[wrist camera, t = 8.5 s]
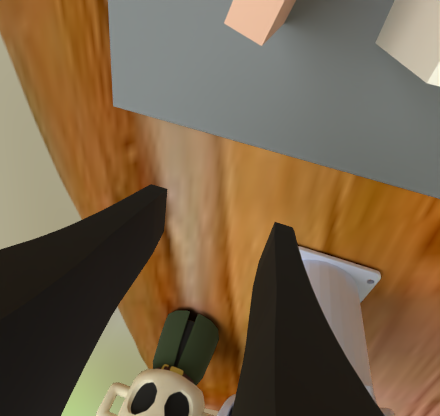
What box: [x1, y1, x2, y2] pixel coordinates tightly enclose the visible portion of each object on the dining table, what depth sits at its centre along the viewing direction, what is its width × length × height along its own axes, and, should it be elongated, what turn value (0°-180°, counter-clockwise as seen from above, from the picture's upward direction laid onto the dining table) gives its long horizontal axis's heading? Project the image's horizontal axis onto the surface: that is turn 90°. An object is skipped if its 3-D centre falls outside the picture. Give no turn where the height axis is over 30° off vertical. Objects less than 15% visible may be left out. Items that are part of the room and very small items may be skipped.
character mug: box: [96, 311, 219, 416], centre depth 28 cm, size 11×7×13 cm, turn 83°
